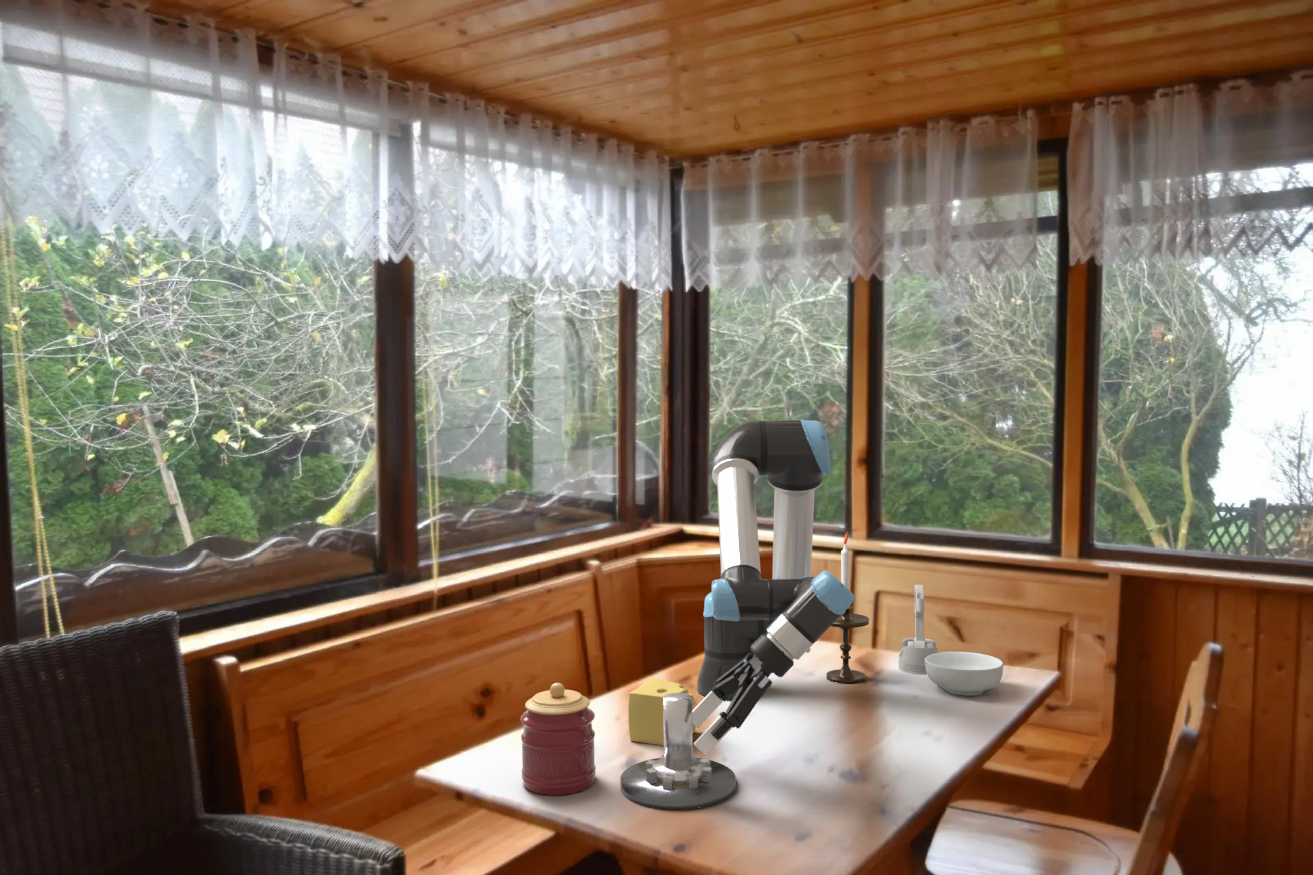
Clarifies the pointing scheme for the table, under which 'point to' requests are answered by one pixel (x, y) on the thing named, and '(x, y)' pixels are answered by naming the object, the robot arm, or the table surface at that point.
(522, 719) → the canister
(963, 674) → the cereal bowl
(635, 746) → the table surface
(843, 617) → the candlestick
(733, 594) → the robot arm
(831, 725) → the table surface
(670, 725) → the sun gear
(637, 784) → the carrier plate
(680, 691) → the cheese
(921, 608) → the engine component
